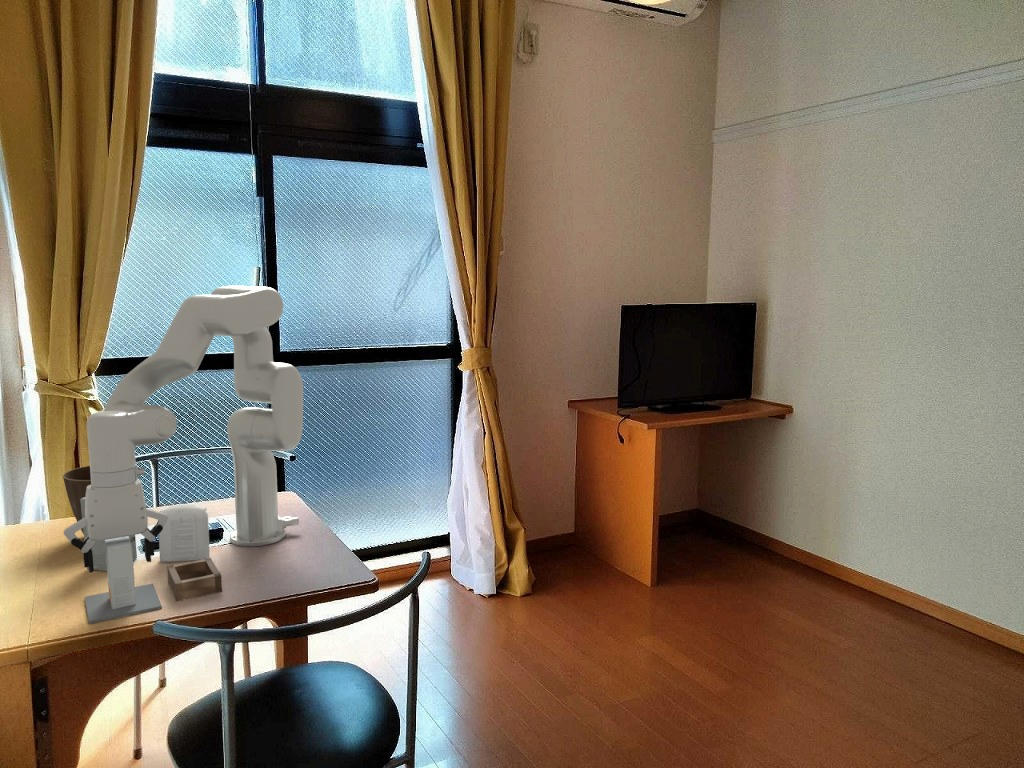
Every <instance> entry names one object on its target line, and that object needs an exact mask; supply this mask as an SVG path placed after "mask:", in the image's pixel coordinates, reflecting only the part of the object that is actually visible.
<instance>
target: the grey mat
mask: <svg viewBox="0 0 1024 768" xmlns="http://www.w3.org/2000/svg"><path fill="white" fill-rule="evenodd" d="M135 594H136V604H135V605H132V606H127V607H122V608H117V609H112V606H111V602H110V598H109V591H108V592H101V593H97V594H91V595H87V596H84V602H85V607H86V612H87V613H86V614H87V618H88V619H87V621H88V624H89V625H90V624H91V625H92V624H95V623H100V622H105V621H108V620H114V619H118V618H119V619H120V618H123V617H128V616H132V615H137V614H142V613H146V612H147V613H148V612H150V611H151V612H152V611H156V610H160V609H163V606H162V602H161V601H160V598H159V596H158V593H157V590H156V588H155V586H154V583H148V584H143V585H138V586H135Z"/></svg>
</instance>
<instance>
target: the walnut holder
mask: <svg viewBox="0 0 1024 768" xmlns="http://www.w3.org/2000/svg"><path fill="white" fill-rule="evenodd" d="M166 568H167V569H166V571H167V583H168V585H170V586H169V588H170V590H171V592H172V595H173V597H174V599H175V601H176V602H180V601H179V600H181V601H184V599H185V600H188V599H189V598H190V599H194V597H195V598H199V597H198V596H200V597H204V596H207V595H214V594H219V593H222V592H223V584H222V583H223V582H222V574H221V571H220V570H219V569H218V567H217V565H216V564H215V562H214V561H213V559H212V557H209V558H207V559H202V560H191V561H188V562H182V563H181V562H180V563H176V564H171V565H167V566H166ZM190 599H189V600H190Z"/></svg>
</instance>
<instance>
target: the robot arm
mask: <svg viewBox="0 0 1024 768" xmlns="http://www.w3.org/2000/svg"><path fill="white" fill-rule="evenodd" d="M283 312H284V301H283V298H282V296H281V295H280V293H279V292H278V290H277V289H274V288H272V287H270V286H269V287H268V286H251V285H250V286H245V285H228V286H227V285H226V286H219V287H217V288H215V289H214V290H212V291H211V292H210V294H196V295H192V296H189V297H187V298H185V300H184V301H183V302H182V303H181V304H180V307H179V308H178V310H177V311H176V314H175V315H174V317H173V319H172V321H171V323H170V325H169V327H168V329H167V331H166V333H165V335H164V336H163V338H162V340H161V342H160V343H159V345H158V347H157V348H156V350H155V351H154V353H152V354H151V355H150V356H149V357H147V358H146V359H144V360H143V361H141V362H140V363H139V364H138V365H136V366H135V367H134V368H133V369H132V370H130V371H129V372H128V373H126V375H125V376H124V377H122V379H121V380H119V383H117V385H116V386H115V388H114V390H113V392H112V393H111V395H110V397H109V398H108V400H107V402H106V405H105V406H104V410H103V411H98V412H95V413H92V414H90V415H89V416H88V417H87V420H86V433H87V445H88V446H87V447H88V448H87V449H88V458H89V460H88V461H89V462H88V463H89V466H90V475H91V485H89V486H87V489H86V497H85V517H84V518H83V519H81V520H79V521H78V522H77V521H76V522H74V523H73V524H71V525H70V526H68V527H66V528H65V529H64V530H63V535H64V536H65V537H66V539H67V540H68V541H69V543H70V544H71V545H72V546H73V547H75V548H77V550H80V551H81V552H82V555H83V556H82V557H83V565H84V568H86V569H87V567H89V569H88V572H89V574H91V573H93V572H94V571H95V570H94V566H93V553H92V548H91V547H92V546H93V545H94V543H95V542H96V541H100V540H107V539H113V538H119V537H125V536H131V535H135V536H137V535H141V536H143V537H144V539H143V544H144V546H143V547H144V548H143V549H144V559H145V560H146V562H147V563H151V562H152V557H153V556H155V547H154V546H155V545H154V542H155V540H156V538H158V537H159V533H160V532H161V531H162V530H163V527H164V525H165V523H166V521H167V519H168V516H167V515H166V514H164V513H161V512H160V511H157V510H154V509H150V508H147V502H146V498H145V494H144V488H143V483H142V482H141V479H139V477H141V476H145V475H146V470H145V467H138V466H137V465H136V449H135V448H136V447H140V446H151V445H158V444H162V443H165V442H166V441H168V440H169V439H170V438H172V437H173V436H174V434H175V432H176V430H177V426H178V420H177V417H176V415H175V414H174V412H173V411H172V410H170V409H169V408H167V407H165V406H163V405H161V406H160V405H155V404H146V402H147V400H148V399H149V398H150V397H151V396H152V395H153V394H154V393H156V392H157V391H158V390H159V389H161V388H163V387H165V386H166V385H169V384H173V383H176V382H177V381H180V380H183V379H185V378H187V377H189V376H191V375H193V374H194V373H195V372H197V371H198V369H199V367H200V365H201V363H202V361H203V359H204V356H205V354H206V353H207V351H208V349H209V348H210V345H211V343H212V341H213V339H214V337H220V336H221V337H231V338H232V342H233V375H234V377H233V380H234V381H233V382H234V383H233V384H234V392H235V394H236V396H237V397H238V398H239V399H241V400H243V401H246V402H251V403H260V404H263V403H264V404H271V408H267V407H255V406H254V407H252V406H248V407H242V408H241V407H240V408H239V409H237V410H235V411H234V412H233V413H232V414H231V415H230V417H229V418H228V421H227V425H226V433H227V438H228V441H229V445H230V449H231V455H232V461H233V478H234V484H233V485H234V500H235V502H234V503H235V525H236V529H235V530H233V531H232V532H231V533H230V534H229V541H230V542H231V543H232V544H233V545H236V546H241V547H260V546H267V545H270V544H271V545H272V544H275V543H276V542H279V541H281V540H283V539H284V538H285V537H286V535H287V534H286V528H287V527H293V526H299V523H300V521H299V517H298V516H295V517H291V516H290V515H289V516H283V517H281V516H280V515H279V506H278V505H279V504H278V503H279V502H278V501H279V500H278V499H279V498H278V478H277V477H278V476H277V474H278V473H277V463H276V459H275V457H274V454H273V452H290V451H293V450H294V449H296V448H297V447H298V446H299V443H300V442H301V440H302V436H303V429H304V423H303V422H304V383H303V378H302V375H301V373H300V372H299V370H298V369H297V368H296V366H294V365H292V364H290V363H285V362H275V361H274V354H273V353H274V352H273V340H272V336H271V333H270V331H269V329H268V327H270V326H272V325H274V324H275V323H277V322H278V321H279V320H280V319H281V317H282V315H283ZM272 451H273V452H272ZM148 518H149V519H150V518H151V519H154V520H157V522H156V524H155V525H154V526H153V527H152V528H151V529H150V528H149V525H148V523H149V522H148ZM85 526H86V532H87V534H88V536H87V537H86V538H85V540H84V539H81V538H79V537H78V536H77V535H76V533H77V532H79V531H81V529H82V528H84V527H85Z"/></svg>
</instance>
